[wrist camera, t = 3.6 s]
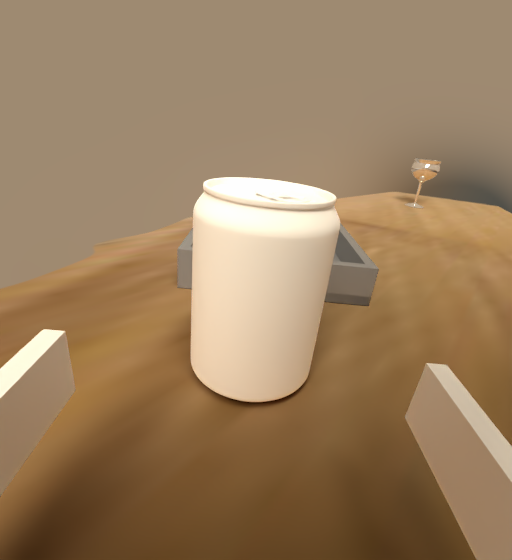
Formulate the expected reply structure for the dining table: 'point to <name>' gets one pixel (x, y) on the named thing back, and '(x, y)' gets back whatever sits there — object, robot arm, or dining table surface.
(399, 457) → the dining table surface
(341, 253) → the bin
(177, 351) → the dining table surface
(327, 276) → the beverage can
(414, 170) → the wineglass
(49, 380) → the robot arm
